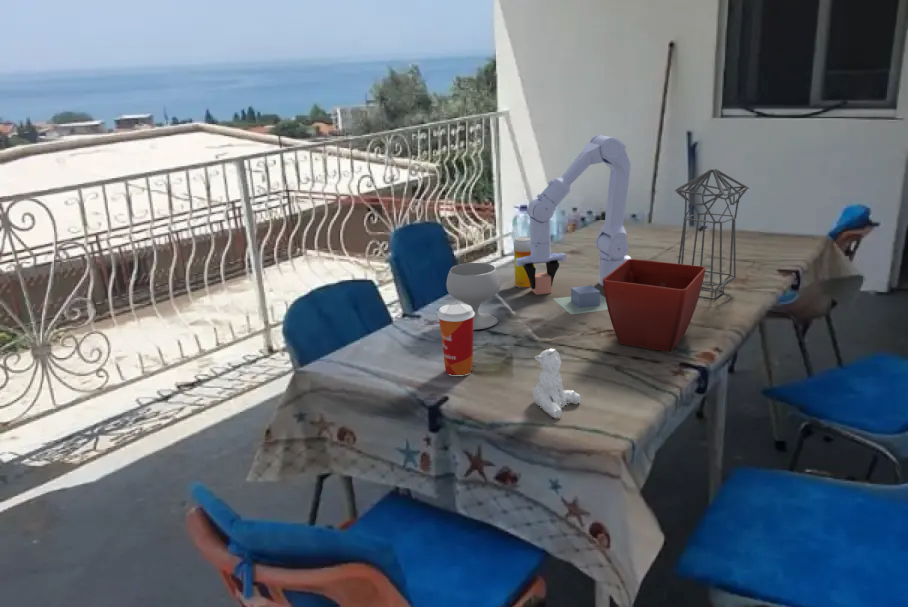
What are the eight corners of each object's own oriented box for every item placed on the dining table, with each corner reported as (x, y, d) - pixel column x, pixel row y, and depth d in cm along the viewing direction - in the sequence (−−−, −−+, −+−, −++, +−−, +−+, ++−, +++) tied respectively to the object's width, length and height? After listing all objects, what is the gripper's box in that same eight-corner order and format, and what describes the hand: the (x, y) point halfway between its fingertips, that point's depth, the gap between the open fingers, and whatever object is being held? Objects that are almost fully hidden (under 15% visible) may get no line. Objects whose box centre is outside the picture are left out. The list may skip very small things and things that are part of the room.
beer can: (534, 289, 212) (533, 241, 208) (513, 289, 214) (512, 241, 209) (536, 283, 218) (535, 236, 213) (516, 283, 219) (515, 236, 214)
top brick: (546, 288, 210) (545, 272, 209) (551, 292, 206) (551, 276, 204) (531, 290, 209) (531, 274, 208) (536, 294, 205) (536, 278, 204)
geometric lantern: (666, 295, 201) (672, 171, 191) (691, 282, 212) (698, 164, 202) (721, 305, 191) (730, 174, 181) (744, 291, 202) (754, 166, 191)
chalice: (440, 319, 192) (437, 266, 187) (487, 310, 197) (485, 258, 192) (461, 336, 180) (458, 279, 175) (510, 326, 185) (509, 270, 180)
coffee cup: (439, 365, 163) (435, 304, 158) (475, 362, 164) (472, 301, 159) (442, 381, 155) (438, 316, 151) (479, 377, 156) (476, 313, 151)
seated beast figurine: (556, 421, 136) (556, 363, 132) (520, 408, 141) (519, 353, 137) (583, 402, 142) (583, 347, 139) (547, 391, 148) (546, 338, 144)
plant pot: (681, 360, 159) (685, 289, 153) (599, 347, 169) (601, 279, 163) (702, 332, 174) (707, 266, 169) (626, 321, 184) (628, 258, 178)
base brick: (591, 298, 200) (591, 285, 198) (599, 305, 194) (600, 291, 193) (571, 301, 198) (571, 287, 197) (579, 307, 193) (579, 294, 192)
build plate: (598, 295, 204) (598, 292, 204) (619, 310, 191) (619, 308, 191) (552, 301, 202) (552, 298, 201) (570, 317, 189) (570, 314, 188)
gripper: (559, 235, 208) (559, 280, 212) (512, 241, 205) (513, 285, 210) (568, 241, 201) (568, 286, 206) (519, 246, 199) (520, 292, 203)
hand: (541, 286), depth 207 cm, fingers closed on top brick, 4 cm apart
